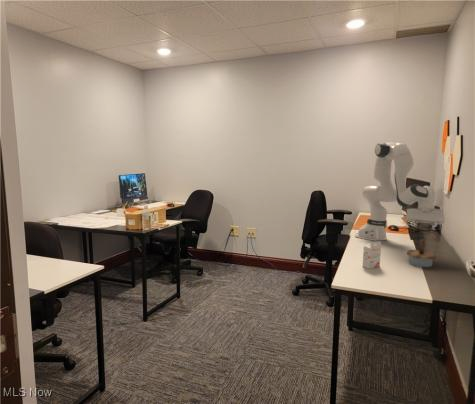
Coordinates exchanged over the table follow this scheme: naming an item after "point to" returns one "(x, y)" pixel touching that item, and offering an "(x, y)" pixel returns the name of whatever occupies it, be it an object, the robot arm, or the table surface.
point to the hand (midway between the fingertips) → (423, 227)
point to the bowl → (420, 261)
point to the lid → (421, 252)
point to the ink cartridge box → (372, 255)
